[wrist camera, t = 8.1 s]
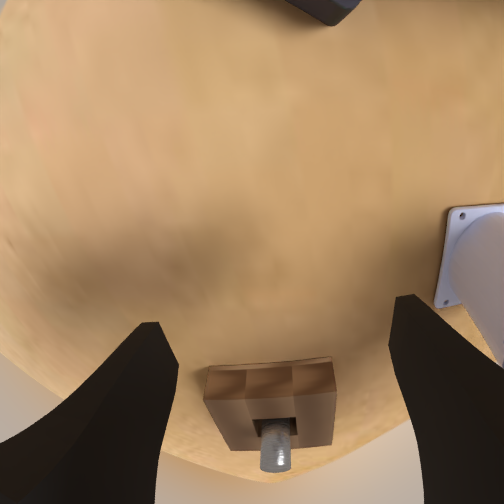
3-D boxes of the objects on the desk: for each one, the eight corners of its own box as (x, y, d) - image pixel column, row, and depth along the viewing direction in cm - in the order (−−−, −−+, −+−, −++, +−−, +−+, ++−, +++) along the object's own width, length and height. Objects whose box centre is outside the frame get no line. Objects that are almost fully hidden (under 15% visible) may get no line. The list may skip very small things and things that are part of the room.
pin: (286, 391, 25) (288, 462, 19) (290, 404, 26) (292, 471, 20) (259, 394, 26) (257, 464, 20) (265, 407, 27) (263, 473, 21)
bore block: (331, 356, 24) (336, 391, 20) (328, 416, 28) (331, 444, 25) (209, 366, 25) (203, 399, 22) (233, 422, 30) (230, 450, 27)
